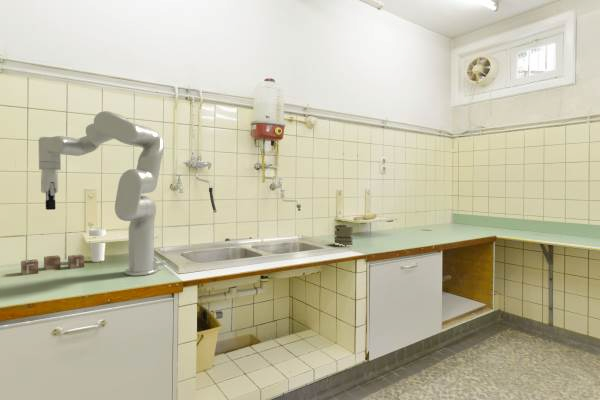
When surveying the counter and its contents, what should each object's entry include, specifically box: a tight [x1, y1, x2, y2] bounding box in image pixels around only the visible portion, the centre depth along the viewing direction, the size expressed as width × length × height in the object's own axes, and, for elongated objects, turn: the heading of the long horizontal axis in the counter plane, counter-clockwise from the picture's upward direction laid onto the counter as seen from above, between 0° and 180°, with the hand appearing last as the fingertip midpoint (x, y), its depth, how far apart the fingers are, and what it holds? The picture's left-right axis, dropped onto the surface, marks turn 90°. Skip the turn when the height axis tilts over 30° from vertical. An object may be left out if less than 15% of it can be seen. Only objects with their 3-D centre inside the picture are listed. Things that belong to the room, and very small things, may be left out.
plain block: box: [43, 255, 61, 271], centre depth 147 cm, size 5×5×5 cm
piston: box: [333, 224, 354, 246], centre depth 216 cm, size 11×12×11 cm
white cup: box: [88, 228, 107, 263], centre depth 162 cm, size 7×7×15 cm
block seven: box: [20, 259, 39, 276], centre depth 139 cm, size 5×5×5 cm
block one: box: [67, 254, 85, 270], centre depth 150 cm, size 5×5×5 cm
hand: (50, 209), depth 148 cm, fingers closed
